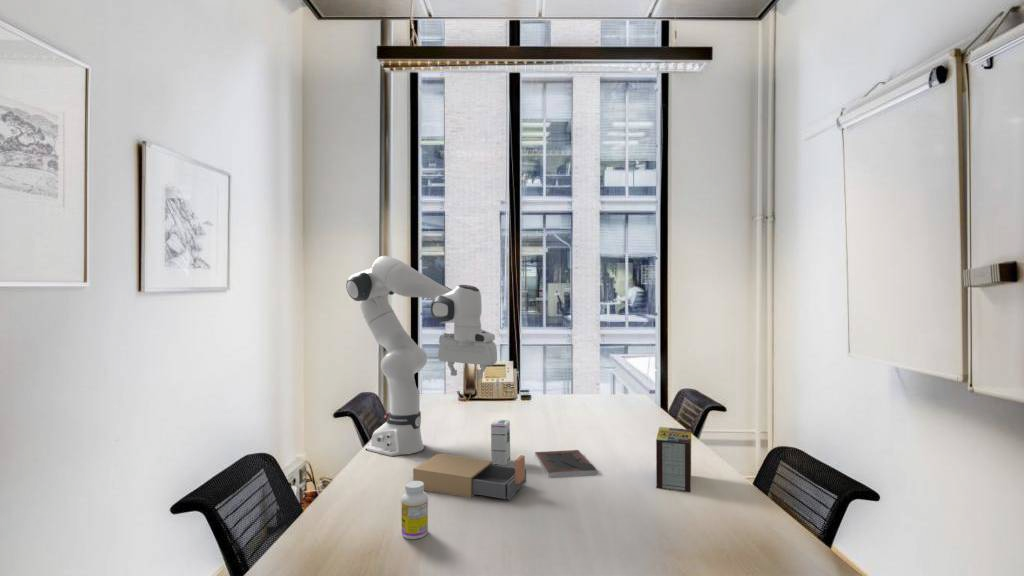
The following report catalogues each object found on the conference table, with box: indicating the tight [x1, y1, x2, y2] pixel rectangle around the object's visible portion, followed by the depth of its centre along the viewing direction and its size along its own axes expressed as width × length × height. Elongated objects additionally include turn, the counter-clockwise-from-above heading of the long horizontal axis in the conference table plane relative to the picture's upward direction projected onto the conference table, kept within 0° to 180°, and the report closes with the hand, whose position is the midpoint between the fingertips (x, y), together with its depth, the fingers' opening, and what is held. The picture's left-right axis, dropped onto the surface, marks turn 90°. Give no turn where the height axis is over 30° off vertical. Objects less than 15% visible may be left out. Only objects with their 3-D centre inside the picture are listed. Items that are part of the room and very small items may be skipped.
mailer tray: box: [472, 454, 527, 500], centre depth 165 cm, size 22×14×10 cm, turn 68°
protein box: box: [655, 426, 692, 493], centre depth 171 cm, size 10×15×16 cm
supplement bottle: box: [400, 480, 429, 540], centre depth 135 cm, size 7×7×13 cm
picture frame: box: [534, 449, 598, 478], centre depth 187 cm, size 16×2×22 cm
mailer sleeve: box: [412, 453, 494, 498], centre depth 170 cm, size 20×16×6 cm
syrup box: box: [490, 419, 511, 466], centre depth 190 cm, size 6×6×14 cm
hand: (466, 376), depth 174 cm, fingers open, 8 cm apart
